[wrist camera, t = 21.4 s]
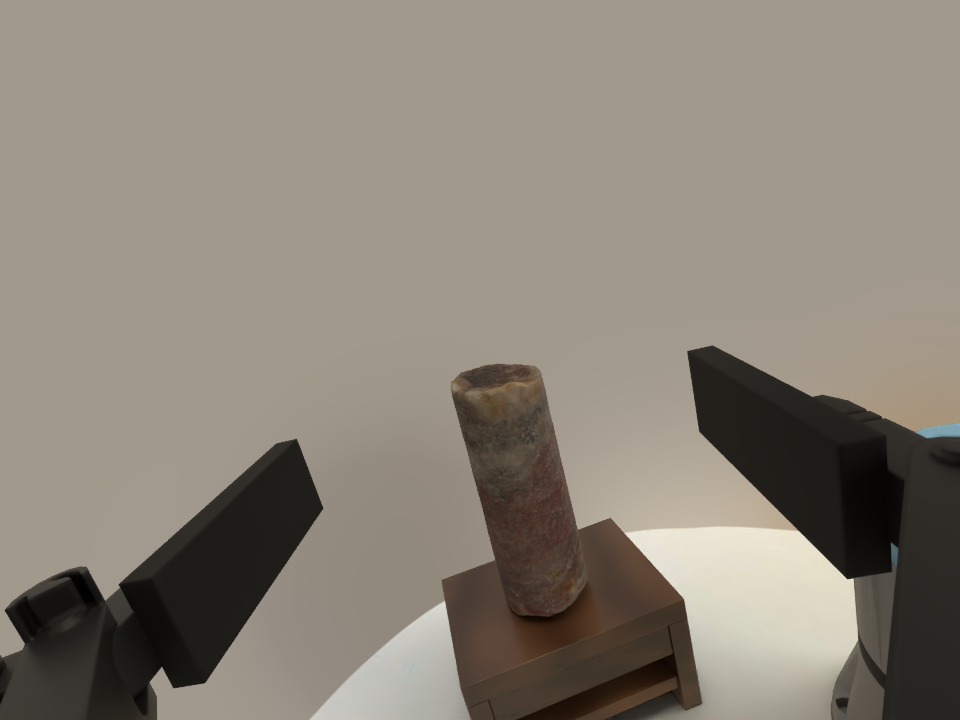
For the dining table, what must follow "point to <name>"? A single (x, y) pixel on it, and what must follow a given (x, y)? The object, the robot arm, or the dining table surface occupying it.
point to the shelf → (573, 640)
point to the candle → (521, 486)
